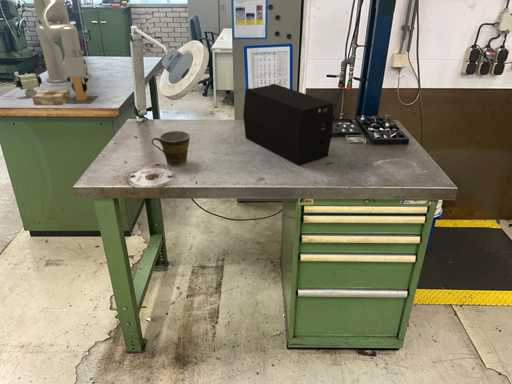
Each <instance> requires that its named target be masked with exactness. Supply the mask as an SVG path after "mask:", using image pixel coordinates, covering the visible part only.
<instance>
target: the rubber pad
mask: <svg viewBox="0 0 512 384" xmlns="http://www.w3.org/2000/svg"><path fill="white" fill-rule="evenodd" d="M98 97H99V95H87V99H86V100H77V99H76V95H74V96H73V97H71V98H69V99H68V100H67V101H65V104H81V105H83V104H85V105H86V104H89V105H90V104H91V103H93V102H94V101H95V100H96V99H97V98H98Z"/></svg>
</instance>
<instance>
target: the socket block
mask: <svg viewBox="0 0 512 384" xmlns="http://www.w3.org/2000/svg"><path fill="white" fill-rule="evenodd" d="M31 98H32V102H33V105H34V106H62V105H63V104H64V103H66V102H67V101H69V100H70V99H71V98H72V96H71V92H70V89H43V90H41V91H40V92H37V94H36V95H34V96H33V97H31Z"/></svg>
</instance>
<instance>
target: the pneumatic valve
mask: <svg viewBox="0 0 512 384" xmlns="http://www.w3.org/2000/svg"><path fill="white" fill-rule="evenodd" d="M15 76H16V77H15V78H13V82H14V85H15V88H16V89H17V88H19V89H20V90H23V91H24V90H25V91H24V94H25V96H26V97H28V98H32V97H33V96H34V95H36V94H37V93H38V91H37V89H35V88H40V87H41V85H42V83H43V82H42V78H41V76H40V75H38V74H37V73H35V72H33V73H27V72H25V73H24V74H21V75H20V74H19V75H15Z"/></svg>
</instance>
